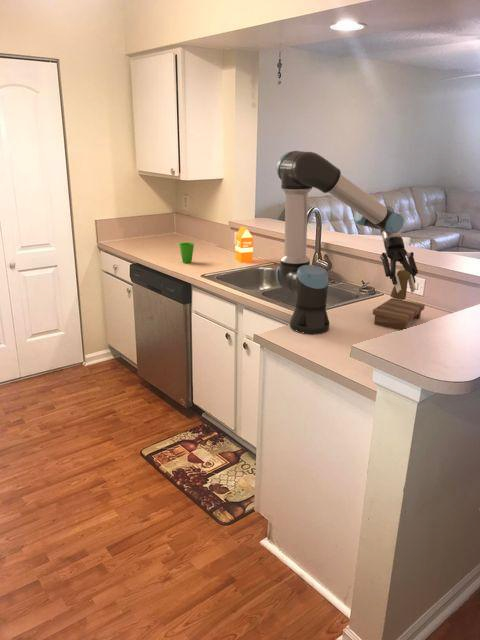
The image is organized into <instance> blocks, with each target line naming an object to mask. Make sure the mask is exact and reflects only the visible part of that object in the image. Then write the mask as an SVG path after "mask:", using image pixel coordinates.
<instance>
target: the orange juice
mask: <svg viewBox="0 0 480 640" xmlns="http://www.w3.org/2000/svg"><path fill="white" fill-rule="evenodd" d="M250 232H251V231H249V229H248V228H247V227H245V226H243V225H241V227H240V228H239V230H238V231H237V232H236V234H235V261H237V262H239V263H242V264H243V263H252V262H251V261H253V258H254V257H253V256H254V236H253V235H252V234H251V233H250Z"/></svg>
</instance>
